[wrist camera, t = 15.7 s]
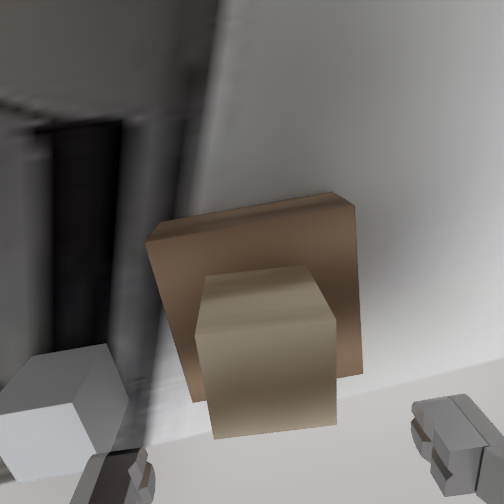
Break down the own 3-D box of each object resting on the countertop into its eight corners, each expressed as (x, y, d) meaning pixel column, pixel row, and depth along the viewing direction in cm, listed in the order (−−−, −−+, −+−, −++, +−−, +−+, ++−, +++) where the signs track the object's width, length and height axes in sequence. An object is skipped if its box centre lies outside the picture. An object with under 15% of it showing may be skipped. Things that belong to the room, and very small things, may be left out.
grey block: (32, 355, 21) (-24, 419, 17) (106, 342, 21) (71, 402, 17) (61, 411, 23) (18, 483, 19) (129, 399, 23) (104, 468, 18)
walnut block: (161, 220, 19) (144, 242, 15) (330, 190, 19) (354, 205, 15) (199, 357, 23) (192, 402, 19) (341, 333, 22) (363, 373, 19)
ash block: (205, 275, 16) (194, 335, 11) (306, 264, 16) (336, 319, 11) (218, 358, 18) (214, 439, 13) (309, 347, 18) (336, 424, 13)
